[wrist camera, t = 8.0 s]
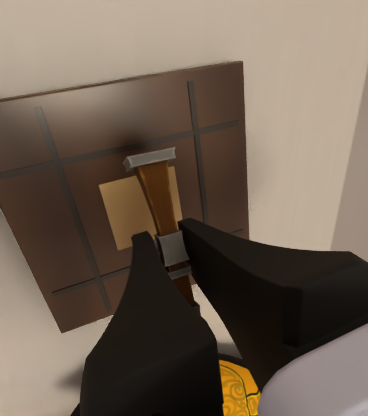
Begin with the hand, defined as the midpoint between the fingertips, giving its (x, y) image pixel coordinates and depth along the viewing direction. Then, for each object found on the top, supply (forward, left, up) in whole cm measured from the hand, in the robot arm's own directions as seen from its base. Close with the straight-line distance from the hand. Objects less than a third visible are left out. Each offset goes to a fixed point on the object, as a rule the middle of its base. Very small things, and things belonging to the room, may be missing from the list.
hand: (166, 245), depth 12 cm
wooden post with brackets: (0, 0, -2) cm, 2 cm away
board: (0, 0, -5) cm, 5 cm away
